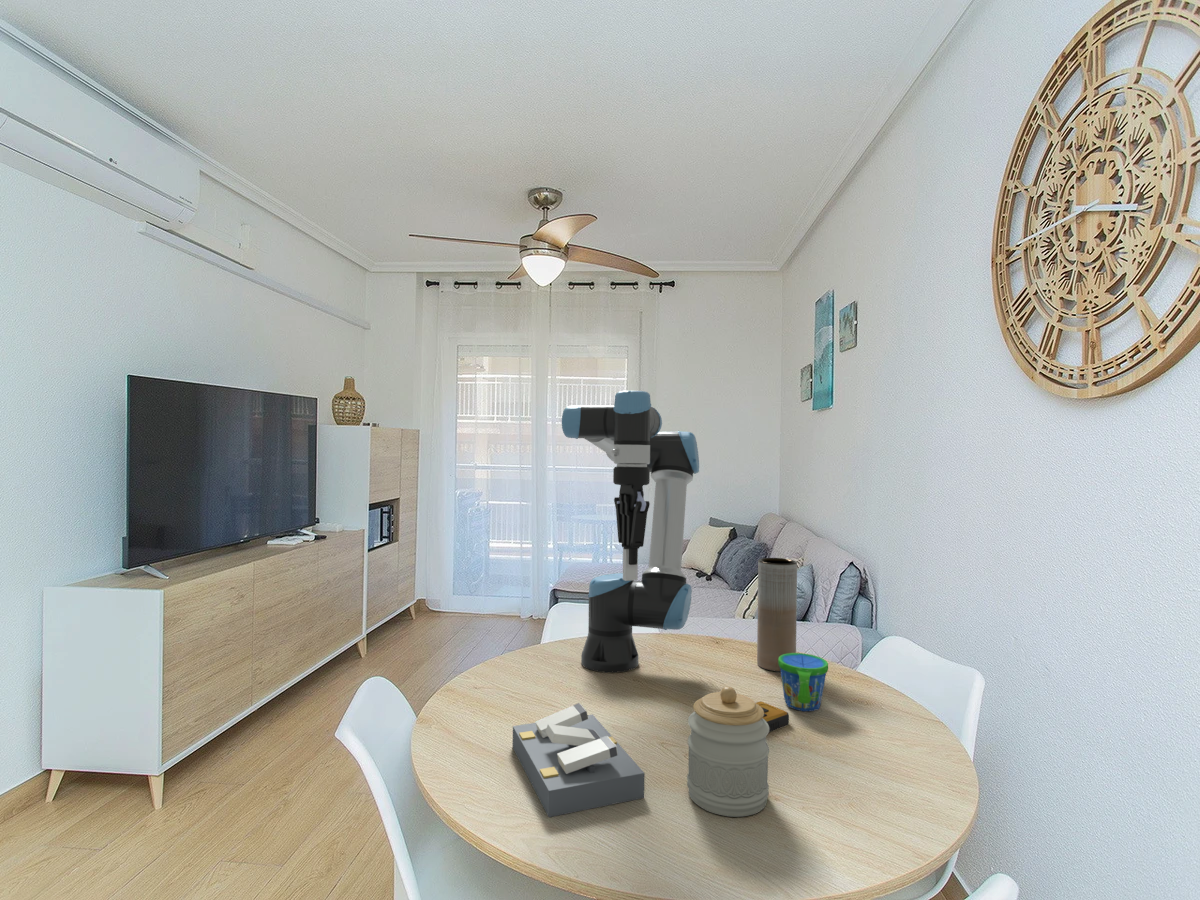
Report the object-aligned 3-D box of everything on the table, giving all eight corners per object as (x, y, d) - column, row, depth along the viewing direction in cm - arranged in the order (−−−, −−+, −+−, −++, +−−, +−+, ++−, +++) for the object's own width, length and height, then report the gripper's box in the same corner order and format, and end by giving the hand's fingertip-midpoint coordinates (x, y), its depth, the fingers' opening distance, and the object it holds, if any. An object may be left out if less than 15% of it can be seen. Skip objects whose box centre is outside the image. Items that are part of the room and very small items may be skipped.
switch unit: (512, 747, 117) (512, 720, 117) (592, 734, 123) (592, 709, 123) (548, 817, 95) (548, 784, 95) (644, 797, 101) (644, 766, 101)
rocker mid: (545, 732, 109) (547, 723, 109) (591, 738, 112) (594, 729, 112) (552, 742, 105) (554, 733, 106) (600, 748, 108) (602, 739, 109)
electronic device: (791, 727, 129) (792, 711, 129) (740, 746, 120) (740, 729, 120) (759, 713, 136) (760, 698, 136) (708, 730, 127) (708, 713, 127)
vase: (755, 658, 171) (756, 557, 171) (792, 660, 169) (793, 558, 169) (759, 671, 161) (760, 563, 161) (799, 673, 159) (800, 564, 160)
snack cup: (826, 724, 129) (827, 674, 130) (774, 715, 133) (774, 667, 133) (828, 697, 144) (829, 653, 144) (781, 690, 148) (781, 647, 148)
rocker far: (536, 729, 116) (534, 721, 116) (581, 710, 119) (579, 702, 119) (542, 738, 112) (540, 730, 112) (588, 718, 115) (586, 710, 115)
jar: (767, 781, 106) (768, 677, 106) (770, 824, 94) (771, 706, 94) (690, 771, 109) (691, 670, 109) (683, 812, 97) (684, 698, 97)
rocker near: (558, 762, 103) (557, 753, 103) (608, 744, 106) (607, 735, 106) (566, 774, 99) (564, 764, 99) (617, 755, 102) (616, 746, 102)
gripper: (603, 465, 134) (601, 574, 134) (627, 466, 122) (625, 587, 122) (635, 465, 137) (633, 573, 137) (662, 466, 125) (660, 584, 124)
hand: (630, 579), depth 129 cm, fingers closed
